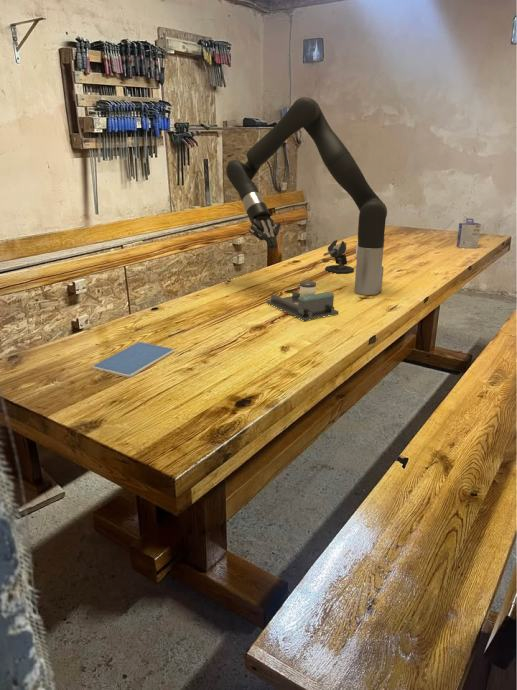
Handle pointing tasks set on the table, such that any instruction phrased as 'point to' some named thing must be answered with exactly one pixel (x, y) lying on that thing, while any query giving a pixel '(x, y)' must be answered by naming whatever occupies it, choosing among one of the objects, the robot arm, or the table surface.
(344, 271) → the gun turret
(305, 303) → the knob mount
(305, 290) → the knob carriage
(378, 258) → the robot arm
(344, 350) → the table surface
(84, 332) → the table surface
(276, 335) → the table surface
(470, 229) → the ink cartridge box
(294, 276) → the table surface
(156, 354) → the tablet computer
